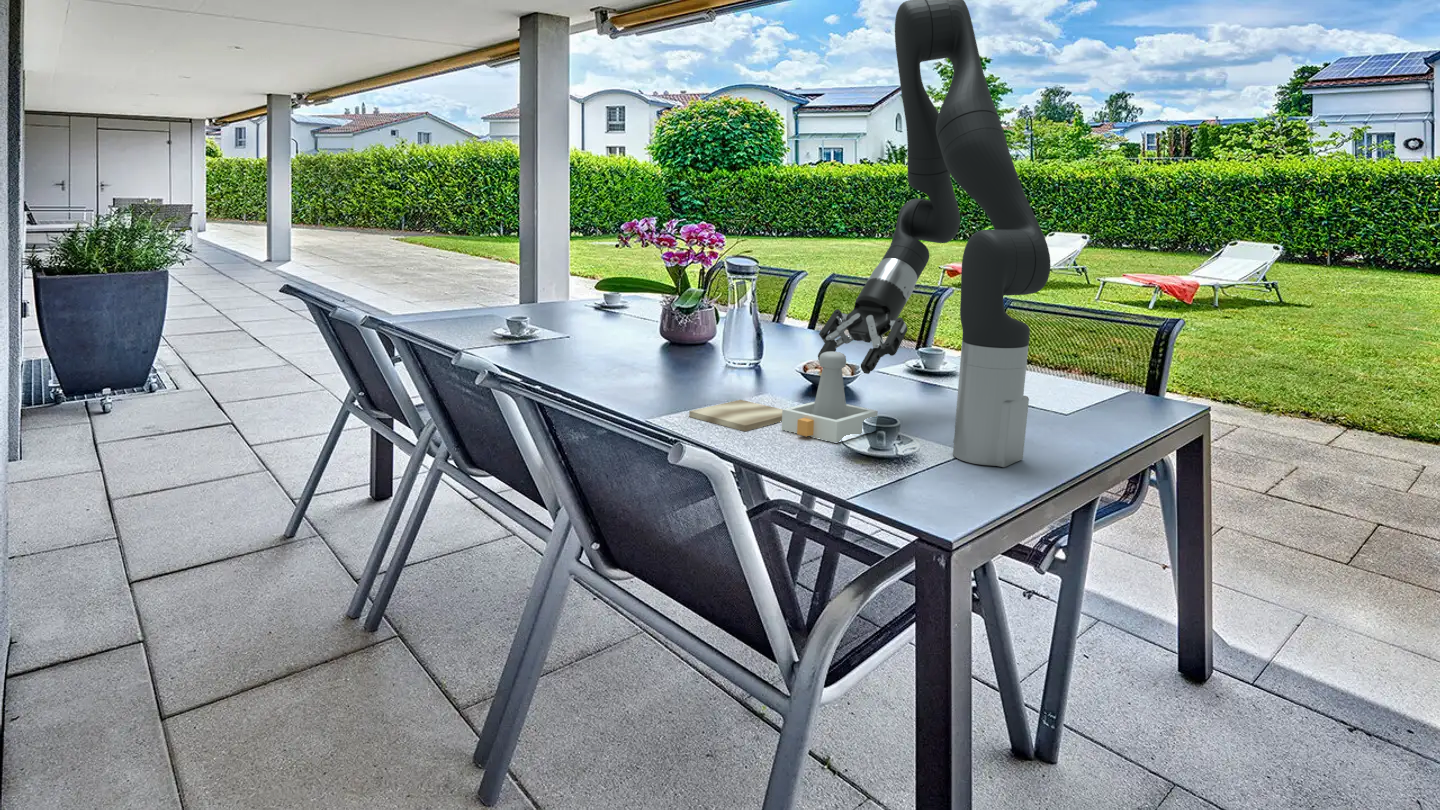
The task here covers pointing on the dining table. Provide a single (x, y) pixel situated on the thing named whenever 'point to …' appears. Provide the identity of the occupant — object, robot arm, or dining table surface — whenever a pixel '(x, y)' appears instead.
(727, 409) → the oak board
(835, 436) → the pale grey open tray
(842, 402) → the salt shaker
